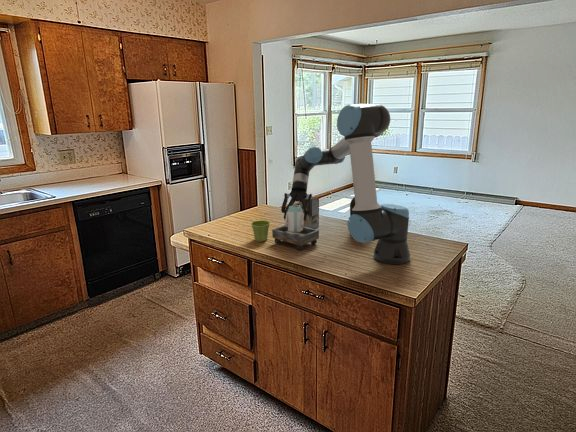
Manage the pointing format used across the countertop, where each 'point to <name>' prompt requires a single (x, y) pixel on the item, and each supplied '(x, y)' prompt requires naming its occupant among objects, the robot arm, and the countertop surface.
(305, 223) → the coffee box
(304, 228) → the grey rectangular tray
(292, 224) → the can
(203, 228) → the countertop surface
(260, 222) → the plant pot
